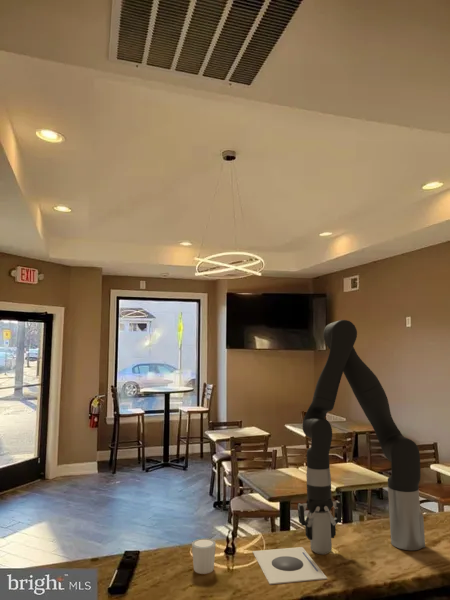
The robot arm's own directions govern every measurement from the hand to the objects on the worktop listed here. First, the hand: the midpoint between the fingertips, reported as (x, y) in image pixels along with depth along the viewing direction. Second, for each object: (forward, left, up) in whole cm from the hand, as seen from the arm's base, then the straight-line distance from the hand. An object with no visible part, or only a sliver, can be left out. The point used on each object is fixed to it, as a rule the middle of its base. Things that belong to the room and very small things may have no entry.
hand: (320, 537), depth 138 cm
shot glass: (+37, +5, -4) cm, 38 cm away
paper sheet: (+13, +7, -4) cm, 15 cm away
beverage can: (0, 0, -4) cm, 4 cm away
